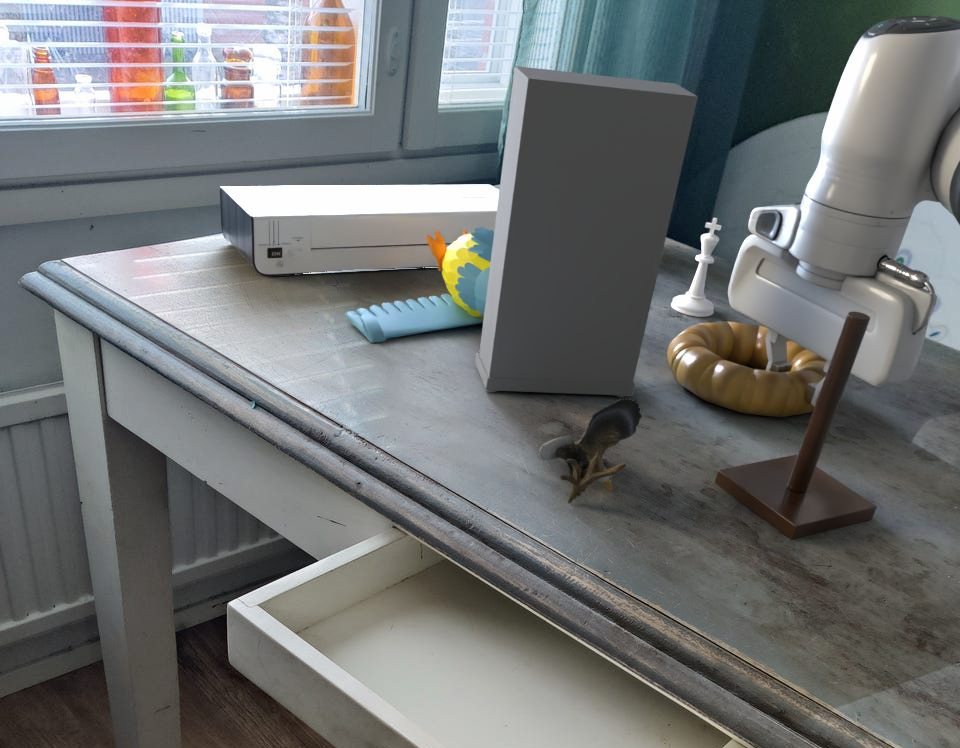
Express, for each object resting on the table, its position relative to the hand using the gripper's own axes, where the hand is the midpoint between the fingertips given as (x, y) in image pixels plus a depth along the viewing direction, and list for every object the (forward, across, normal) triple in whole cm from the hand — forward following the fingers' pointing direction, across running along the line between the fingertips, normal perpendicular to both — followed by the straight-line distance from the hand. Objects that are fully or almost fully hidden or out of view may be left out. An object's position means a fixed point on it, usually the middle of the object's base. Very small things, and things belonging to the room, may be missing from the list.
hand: (794, 391), depth 92 cm
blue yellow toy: (+2, +27, +18) cm, 33 cm away
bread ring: (0, +6, 0) cm, 6 cm away
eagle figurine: (+2, -5, +27) cm, 28 cm away
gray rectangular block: (+2, +12, +19) cm, 23 cm away
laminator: (+2, +48, +20) cm, 52 cm away
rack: (+2, -13, +12) cm, 18 cm away
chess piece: (+2, +25, -9) cm, 27 cm away
